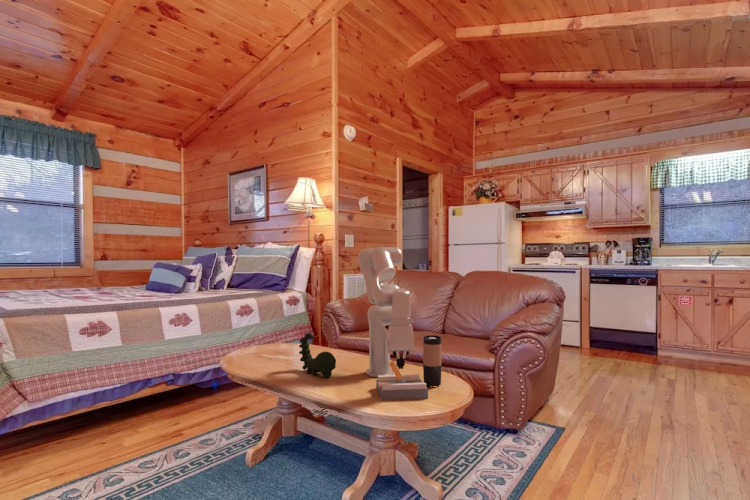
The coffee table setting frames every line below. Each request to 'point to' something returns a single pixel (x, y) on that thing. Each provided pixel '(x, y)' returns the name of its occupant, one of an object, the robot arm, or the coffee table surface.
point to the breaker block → (401, 387)
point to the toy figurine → (316, 359)
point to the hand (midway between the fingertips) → (400, 367)
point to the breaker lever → (396, 372)
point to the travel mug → (432, 360)
